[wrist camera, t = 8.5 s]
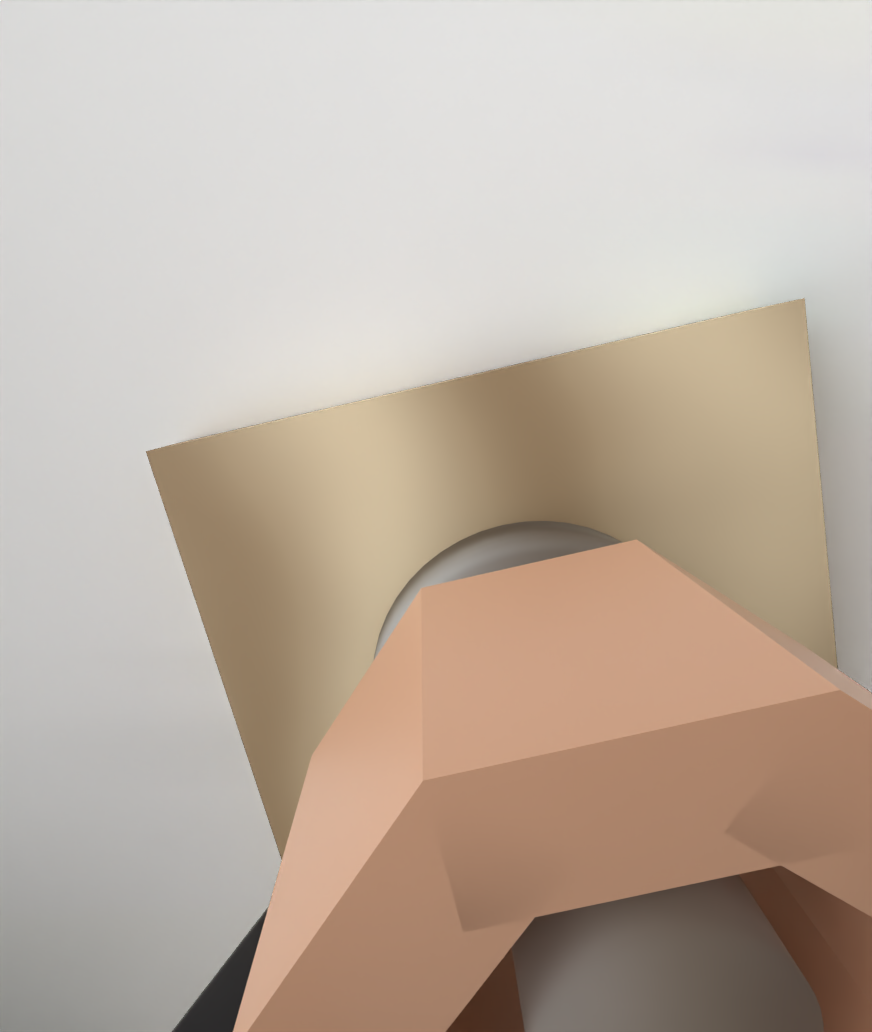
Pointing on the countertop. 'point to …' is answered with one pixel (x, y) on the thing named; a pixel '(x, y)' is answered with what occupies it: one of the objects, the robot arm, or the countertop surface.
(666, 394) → the post stand
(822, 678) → the ring
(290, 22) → the countertop surface
